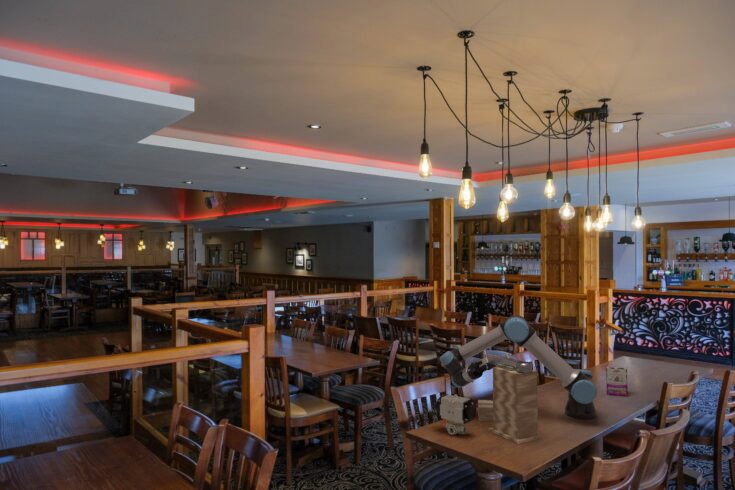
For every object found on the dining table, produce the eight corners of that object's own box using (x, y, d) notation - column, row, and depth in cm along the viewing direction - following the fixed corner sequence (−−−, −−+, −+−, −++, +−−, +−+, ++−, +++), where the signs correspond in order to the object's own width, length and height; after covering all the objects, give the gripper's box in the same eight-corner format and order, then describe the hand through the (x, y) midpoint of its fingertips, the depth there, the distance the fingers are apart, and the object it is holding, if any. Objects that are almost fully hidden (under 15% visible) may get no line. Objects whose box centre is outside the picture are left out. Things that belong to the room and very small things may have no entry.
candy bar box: (626, 394, 297) (626, 366, 298) (627, 396, 293) (627, 368, 293) (606, 392, 302) (605, 365, 302) (606, 394, 297) (606, 367, 297)
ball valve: (434, 431, 237) (433, 393, 237) (443, 426, 243) (443, 389, 244) (468, 440, 225) (467, 400, 226) (477, 435, 232) (476, 396, 232)
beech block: (478, 412, 265) (478, 399, 266) (497, 413, 263) (497, 400, 264) (478, 420, 252) (478, 407, 252) (499, 421, 250) (499, 408, 250)
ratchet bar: (482, 362, 247) (482, 354, 247) (493, 361, 251) (493, 353, 251) (524, 374, 223) (524, 365, 223) (535, 372, 226) (535, 363, 226)
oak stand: (488, 430, 237) (488, 363, 238) (512, 425, 244) (511, 360, 245) (518, 444, 221) (517, 371, 221) (542, 437, 228) (542, 368, 228)
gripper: (494, 376, 263) (519, 362, 247) (456, 382, 251) (480, 368, 235) (488, 362, 266) (513, 348, 250) (451, 368, 255) (474, 353, 239)
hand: (497, 358), depth 243 cm, fingers open, 13 cm apart
